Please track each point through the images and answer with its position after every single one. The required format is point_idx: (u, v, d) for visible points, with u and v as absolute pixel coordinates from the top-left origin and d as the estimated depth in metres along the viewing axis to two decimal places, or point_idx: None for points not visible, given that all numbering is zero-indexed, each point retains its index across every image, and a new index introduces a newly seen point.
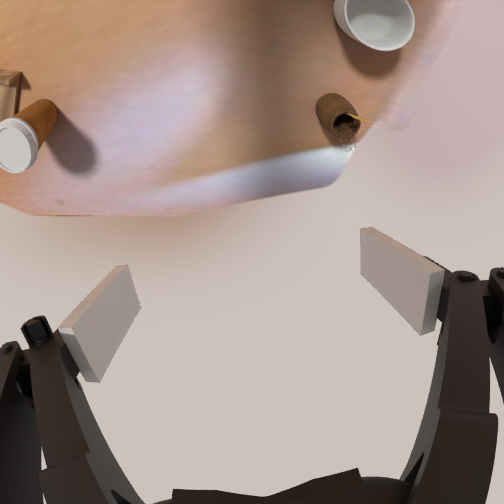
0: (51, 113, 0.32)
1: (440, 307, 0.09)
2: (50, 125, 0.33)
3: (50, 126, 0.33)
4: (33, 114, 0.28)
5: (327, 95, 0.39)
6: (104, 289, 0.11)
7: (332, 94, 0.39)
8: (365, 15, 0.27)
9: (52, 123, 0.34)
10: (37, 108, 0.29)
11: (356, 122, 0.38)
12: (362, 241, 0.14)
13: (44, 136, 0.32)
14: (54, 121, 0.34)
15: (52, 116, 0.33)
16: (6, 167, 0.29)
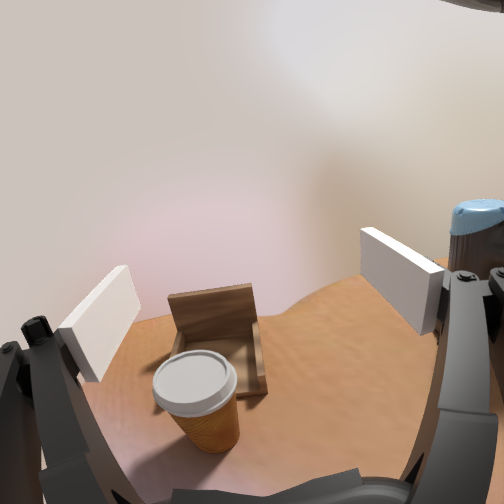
0: (227, 440, 0.28)
1: (440, 307, 0.09)
2: (211, 441, 0.26)
3: (210, 441, 0.26)
4: (234, 409, 0.27)
5: None
6: (104, 289, 0.11)
7: None
8: None
9: (212, 444, 0.27)
10: (236, 417, 0.29)
11: None
12: (362, 241, 0.14)
13: (201, 430, 0.25)
14: (213, 448, 0.27)
15: (222, 442, 0.27)
16: (161, 371, 0.28)
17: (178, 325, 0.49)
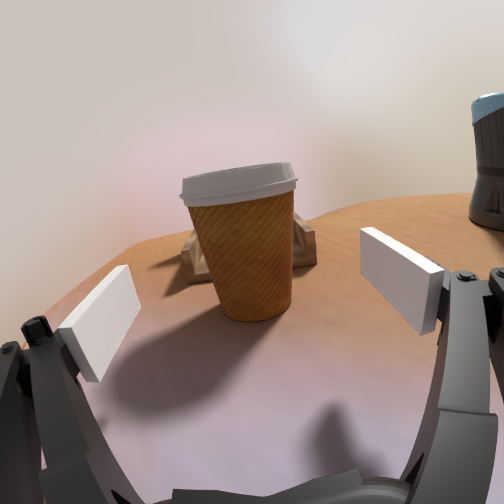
0: (280, 289, 0.22)
1: (440, 307, 0.09)
2: (259, 280, 0.21)
3: (256, 281, 0.21)
4: (292, 226, 0.22)
5: None
6: (104, 289, 0.11)
7: None
8: None
9: (258, 292, 0.21)
10: (292, 251, 0.23)
11: None
12: (362, 241, 0.14)
13: (248, 246, 0.20)
14: (257, 304, 0.22)
15: (273, 291, 0.22)
16: None
17: None
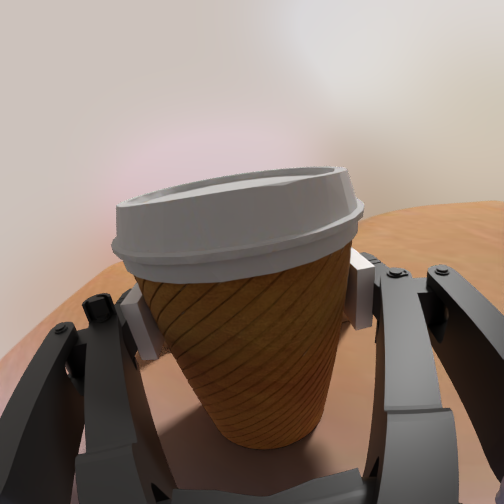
0: (313, 408, 0.11)
1: (374, 303, 0.10)
2: (278, 409, 0.10)
3: (273, 410, 0.10)
4: None
5: None
6: None
7: None
8: None
9: (275, 422, 0.10)
10: None
11: None
12: None
13: (258, 365, 0.08)
14: (273, 434, 0.10)
15: (302, 415, 0.10)
16: (147, 201, 0.11)
17: None
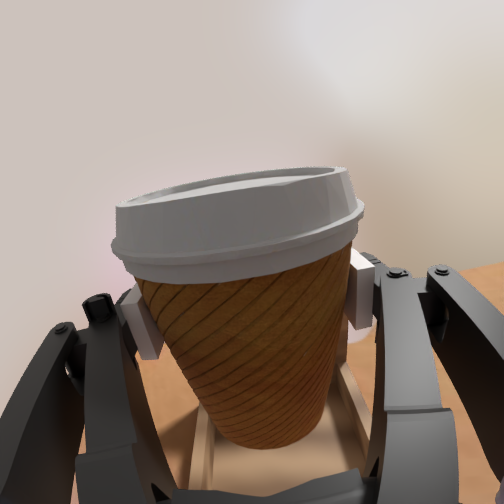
0: (313, 408, 0.11)
1: (374, 303, 0.10)
2: (278, 410, 0.10)
3: (273, 411, 0.09)
4: (344, 300, 0.11)
5: None
6: None
7: None
8: None
9: (275, 423, 0.10)
10: None
11: None
12: None
13: (258, 366, 0.08)
14: (273, 434, 0.10)
15: (302, 415, 0.10)
16: (147, 201, 0.11)
17: None
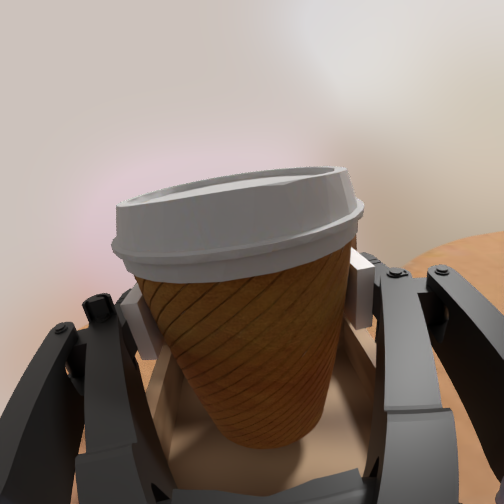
0: (313, 408, 0.11)
1: (374, 303, 0.10)
2: (278, 409, 0.10)
3: (273, 410, 0.10)
4: None
5: None
6: None
7: None
8: None
9: (275, 422, 0.10)
10: None
11: None
12: None
13: (258, 365, 0.08)
14: (273, 434, 0.10)
15: (302, 414, 0.10)
16: (147, 201, 0.11)
17: None
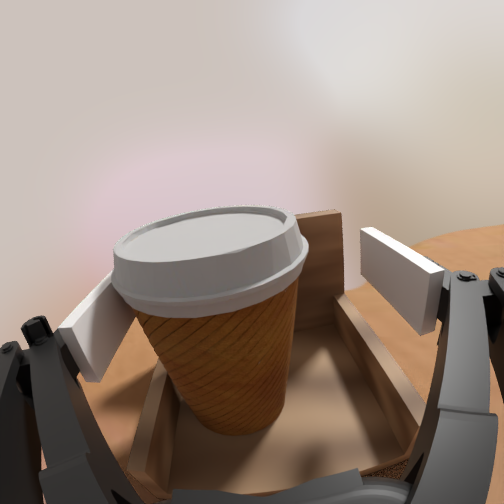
0: (272, 402, 0.14)
1: (440, 307, 0.09)
2: (242, 403, 0.13)
3: (238, 404, 0.13)
4: (294, 319, 0.14)
5: None
6: (104, 289, 0.11)
7: None
8: None
9: (241, 413, 0.13)
10: None
11: None
12: (362, 241, 0.14)
13: (224, 371, 0.11)
14: (240, 423, 0.13)
15: (263, 408, 0.13)
16: (136, 237, 0.14)
17: None
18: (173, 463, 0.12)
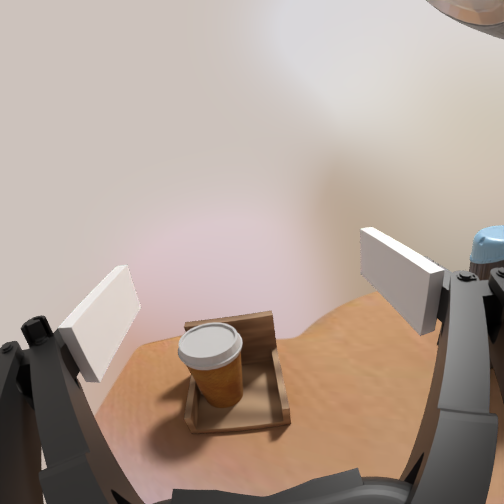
0: (235, 394, 0.39)
1: (440, 307, 0.09)
2: (223, 394, 0.37)
3: (221, 394, 0.37)
4: (240, 366, 0.39)
5: None
6: (104, 289, 0.11)
7: None
8: None
9: (223, 398, 0.38)
10: (241, 375, 0.40)
11: None
12: (362, 241, 0.14)
13: (216, 383, 0.36)
14: (223, 402, 0.38)
15: (231, 396, 0.38)
16: (183, 339, 0.39)
17: None
18: (198, 418, 0.37)
